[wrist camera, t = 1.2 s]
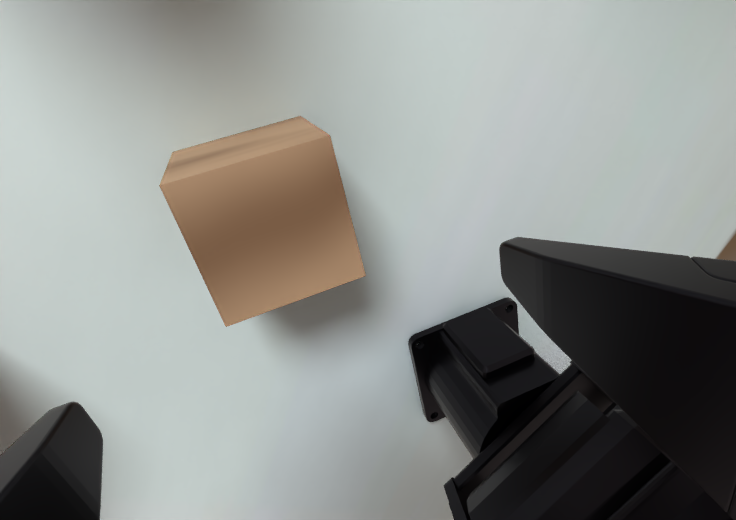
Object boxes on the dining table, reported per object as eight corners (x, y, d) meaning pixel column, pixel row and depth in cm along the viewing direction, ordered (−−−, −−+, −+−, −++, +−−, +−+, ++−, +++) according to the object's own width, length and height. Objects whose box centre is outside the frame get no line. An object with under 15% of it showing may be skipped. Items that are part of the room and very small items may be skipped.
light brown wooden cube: (331, 227, 20) (366, 275, 15) (222, 264, 19) (225, 326, 14) (299, 115, 17) (329, 135, 13) (172, 151, 16) (159, 185, 12)
